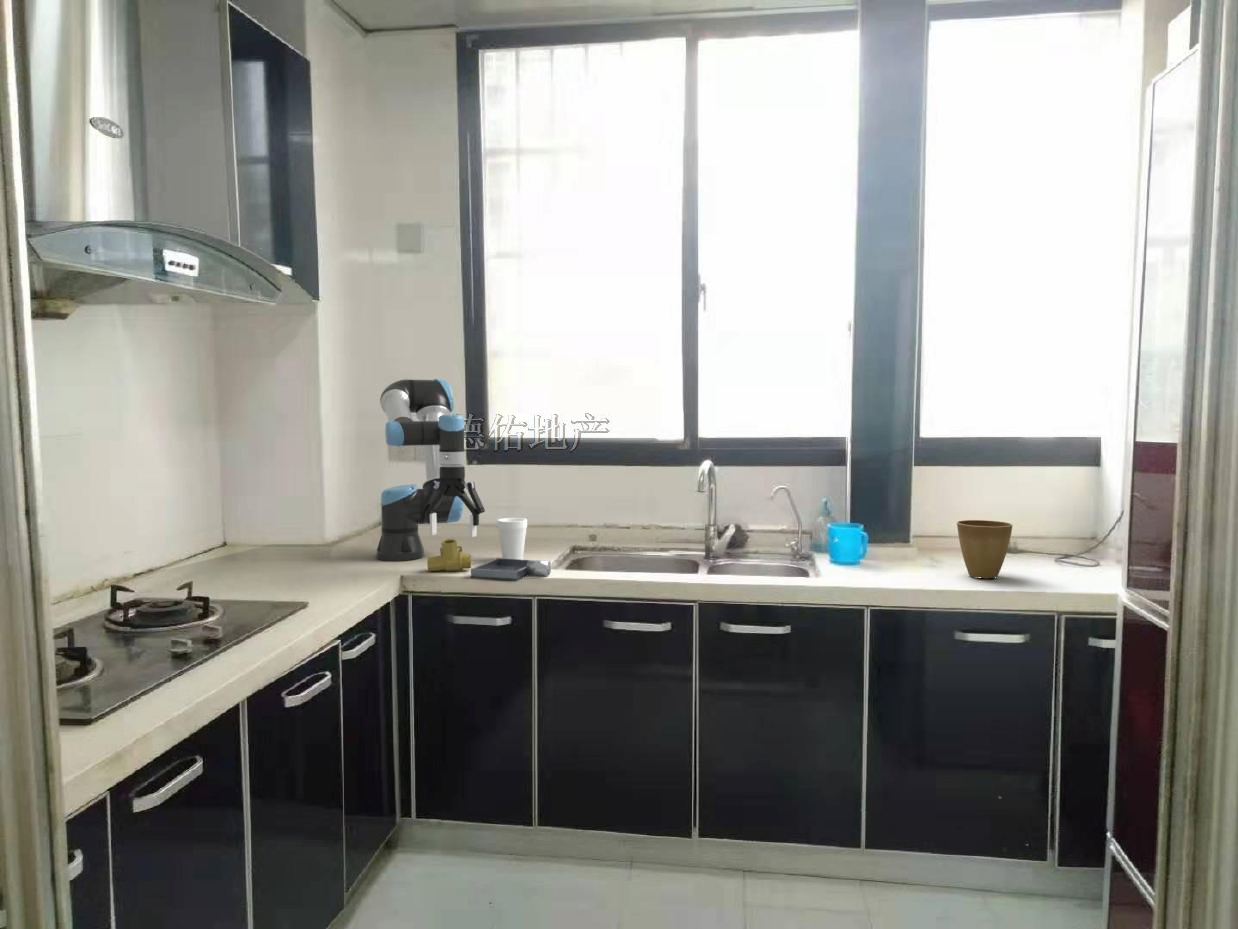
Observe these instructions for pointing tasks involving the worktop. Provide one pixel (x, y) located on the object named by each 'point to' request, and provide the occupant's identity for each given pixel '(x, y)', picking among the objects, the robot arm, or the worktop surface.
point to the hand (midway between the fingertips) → (453, 535)
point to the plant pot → (984, 546)
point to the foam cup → (512, 537)
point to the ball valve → (449, 558)
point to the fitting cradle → (511, 569)
